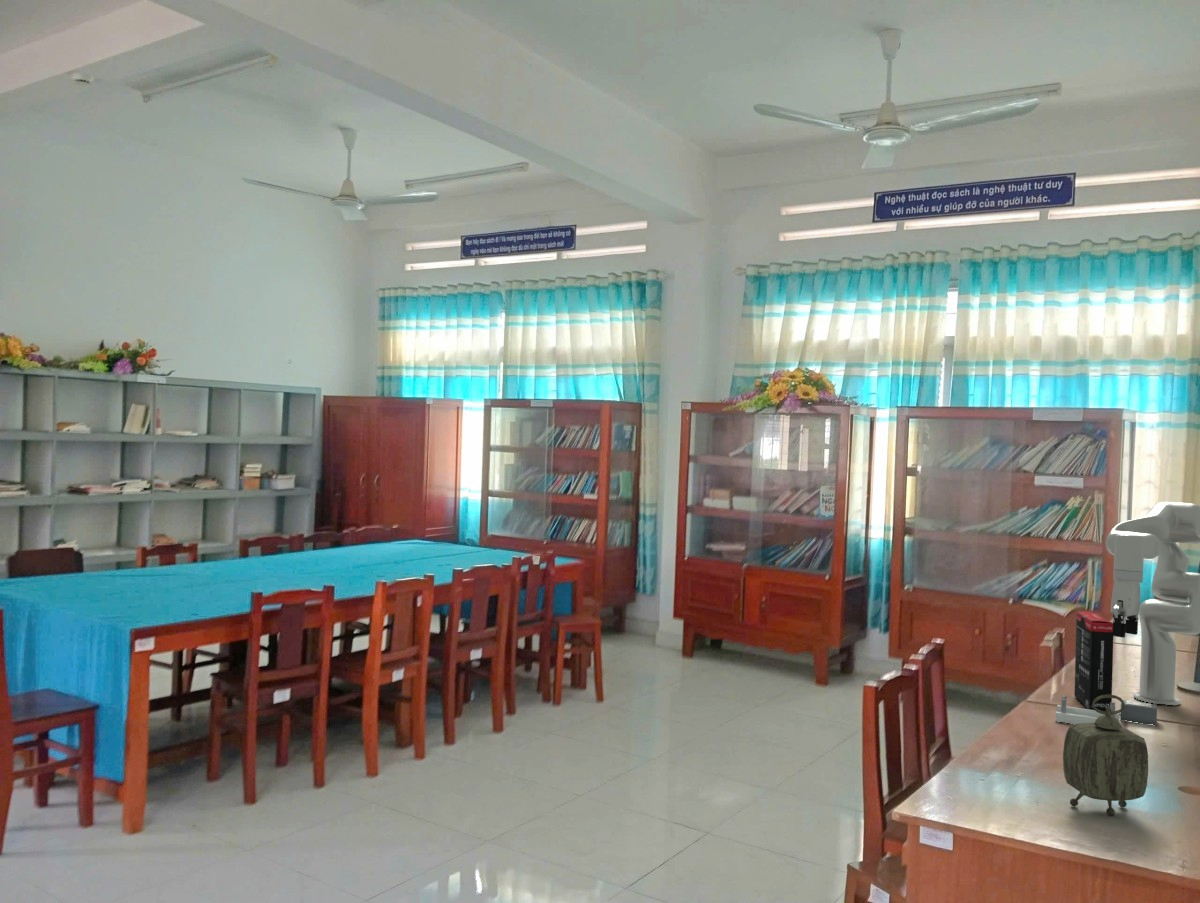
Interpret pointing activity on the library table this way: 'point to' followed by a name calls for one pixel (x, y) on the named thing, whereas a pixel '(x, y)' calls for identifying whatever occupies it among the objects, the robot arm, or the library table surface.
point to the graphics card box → (1093, 660)
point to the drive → (1139, 712)
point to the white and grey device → (1078, 713)
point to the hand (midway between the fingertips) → (1125, 635)
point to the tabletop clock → (1105, 759)
